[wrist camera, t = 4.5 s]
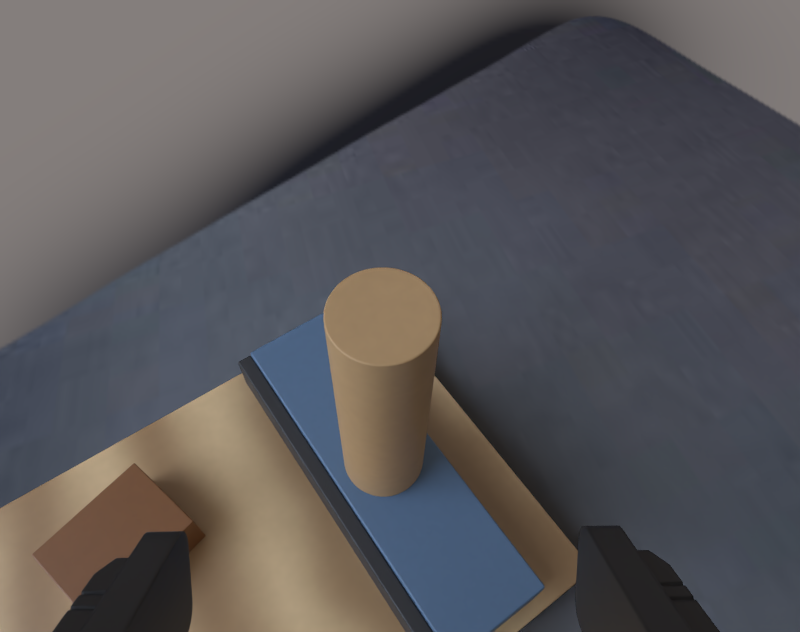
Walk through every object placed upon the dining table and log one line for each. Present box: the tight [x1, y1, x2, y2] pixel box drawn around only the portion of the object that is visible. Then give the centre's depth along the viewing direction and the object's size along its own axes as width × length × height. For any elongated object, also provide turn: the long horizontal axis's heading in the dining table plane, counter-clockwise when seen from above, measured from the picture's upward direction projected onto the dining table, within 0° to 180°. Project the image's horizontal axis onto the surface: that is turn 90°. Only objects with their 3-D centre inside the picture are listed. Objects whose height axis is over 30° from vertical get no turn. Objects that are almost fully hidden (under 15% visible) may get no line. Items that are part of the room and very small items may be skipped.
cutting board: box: [0, 374, 578, 632], centre depth 25 cm, size 24×15×2 cm, turn 125°
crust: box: [32, 463, 206, 603], centre depth 24 cm, size 4×3×2 cm
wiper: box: [239, 268, 545, 632], centre depth 21 cm, size 5×14×12 cm, turn 35°
